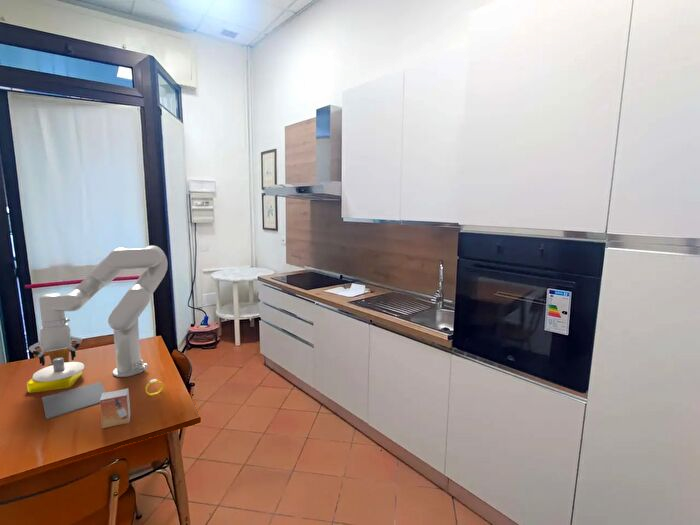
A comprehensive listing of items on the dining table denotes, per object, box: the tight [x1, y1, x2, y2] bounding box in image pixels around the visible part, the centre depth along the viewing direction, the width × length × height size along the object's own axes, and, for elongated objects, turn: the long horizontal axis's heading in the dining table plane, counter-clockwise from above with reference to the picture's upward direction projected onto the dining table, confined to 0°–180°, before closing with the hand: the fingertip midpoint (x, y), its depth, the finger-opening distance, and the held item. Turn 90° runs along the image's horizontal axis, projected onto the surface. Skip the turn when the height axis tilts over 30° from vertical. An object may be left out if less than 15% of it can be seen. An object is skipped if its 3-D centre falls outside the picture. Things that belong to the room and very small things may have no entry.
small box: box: [99, 388, 131, 429], centre depth 123 cm, size 8×6×10 cm
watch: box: [144, 378, 164, 397], centre depth 142 cm, size 6×3×6 cm, turn 127°
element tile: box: [26, 370, 83, 394], centre depth 151 cm, size 15×15×5 cm
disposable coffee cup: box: [47, 348, 70, 366], centre depth 169 cm, size 10×10×12 cm
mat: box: [41, 381, 107, 421], centre depth 137 cm, size 19×19×1 cm
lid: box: [32, 358, 85, 382], centre depth 150 cm, size 17×17×6 cm
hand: (58, 361), depth 150 cm, fingers open, 9 cm apart
